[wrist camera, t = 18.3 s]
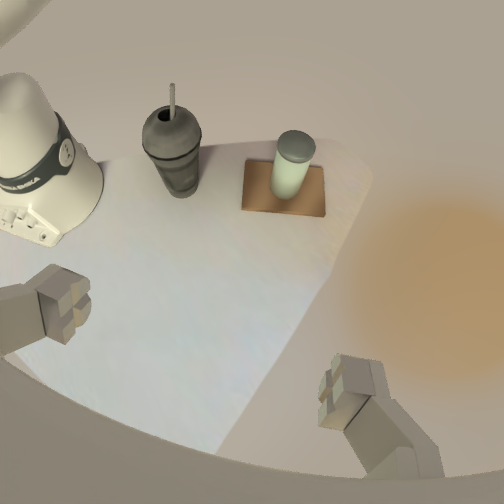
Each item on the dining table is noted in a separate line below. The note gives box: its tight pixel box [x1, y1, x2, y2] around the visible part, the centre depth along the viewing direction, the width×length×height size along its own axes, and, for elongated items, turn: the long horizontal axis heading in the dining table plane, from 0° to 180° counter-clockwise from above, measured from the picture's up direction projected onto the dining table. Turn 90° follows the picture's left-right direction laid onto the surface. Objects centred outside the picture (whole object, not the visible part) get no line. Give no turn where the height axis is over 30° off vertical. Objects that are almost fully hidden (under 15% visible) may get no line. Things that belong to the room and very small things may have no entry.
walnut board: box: [242, 160, 326, 217], centre depth 47 cm, size 12×8×1 cm, turn 87°
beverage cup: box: [142, 83, 202, 198], centre depth 37 cm, size 7×7×20 cm
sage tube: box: [269, 130, 316, 200], centre depth 42 cm, size 5×5×10 cm
